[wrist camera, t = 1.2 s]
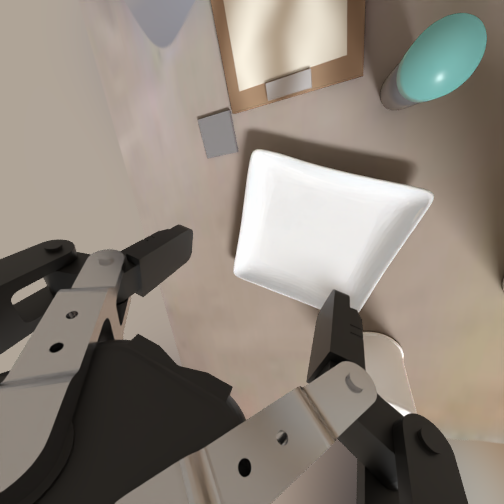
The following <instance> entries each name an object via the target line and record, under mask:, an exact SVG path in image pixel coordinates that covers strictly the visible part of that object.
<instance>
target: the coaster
mask: <svg viewBox="0 0 504 504" xmlns="http://www.w3.org/2000/svg"><path fill="white" fill-rule="evenodd" d="M198 123H199V127H200V131H201V135H202V139H203V143H204V147H205V150H206V154H207V158H211V157H216V156H221V155H226V154H230V153H235V152H238V147H237V142H236V137H235V132H234V127H233V122H232V117H231V112H230V110H228V111H225V112H222V113H218V114H215V115H212V116H209V117H205V118H202V119H199V120H198Z"/></svg>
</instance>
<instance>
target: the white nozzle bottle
mask: <svg viewBox="0 0 504 504" xmlns="http://www.w3.org/2000/svg"><path fill="white" fill-rule="evenodd" d="M363 341H364V355H365V368H366V372H367V373H368V374H369V375H370V377H371V378H372V380H373V382H374V384H375V386H376V390H377V393H378V394H379V395H380V397H381V398H383V399H384V400H385V401H386V402H387V403H389V404H390V405H391V406H392V407H393V408H395V409H396V410H397V411H398V412H400V413H401V414H402V415H403V416H405V415H407V414H409V413H415V414H417V412H416V408H415V404H414V400H413V396H412V392H411V389H410V385H409V381H408V377H407V373H406V369H405V365H404V361H403V357H404V354H403V350H402V348H401V346H400V345H399V344H398V343H397V342H396V341H395V340H393V339H392V338H390V337H388V336H386V335H384V334H380V333H376V332H363Z"/></svg>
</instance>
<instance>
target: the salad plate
mask: <svg viewBox="0 0 504 504" xmlns="http://www.w3.org/2000/svg"><path fill="white" fill-rule="evenodd" d="M433 199H434V195H433V193H432V192H431V191H429V190H426V189H423V188H419V187H415V186H410V185H406V184H401V183H396V182H391V181H386V180H381V179H376V178H371V177H367V176H362V175H358V174H353V173H349V172H344V171H340V170H336V169H332V168H328V167H325V166H321V165H317V164H313V163H310V162H307V161H303V160H300V159H297V158H294V157H290V156H287V155H284V154H281V153H277V152H273V151H269V150H264V149H256V150H254V151H253V152H252V154H251V157H250V162H249V167H248V173H247V180H246V188H245V196H244V204H243V211H242V219H241V227H240V233H239V238H238V245H237V250H236V256H235V261H234V274H235V275H236V276H237V277H239V278H241V279H244V280H246V281H249V282H251V283H254V284H256V285H259V286H261V287H264V288H267V289H269V290H272V291H274V292H277V293H280V294H282V295H285V296H287V297H290V298H292V299H295V300H298V301H300V302H303V303H305V304H308V305H310V306H313V307H315V308H318V309H320V310H321V308H322V306H323V305H324V303H325V301H326V300H327V298H328V296H329V295H330V293H331V291H332V290H333V289H335V290H337V291H340V292H342V293H345V294H347V295H349V296H350V307H351V308H353V309H355V310H357V311H358V313H359V312H360V310H361V309H362V307H363V305H364V304H365V302H366V301H367V299H368V297H369V296H370V294H371V292H372V291H373V289H374V288H375V286H376V284H377V283H378V281H379V280H380V278H381V277H382V275H383V273H384V272H385V270H386V269H387V267H388V266H389V265H390V263H391V262H392V260H393V259H394V257H395V256H396V254H397V253H398V251H399V250H400V248H401V247H402V246H403V244H404V243H405V241H406V240H407V238H408V237H409V236H410V234H411V233H412V231H413V230H414V229H415V227H416V226H417V224H418V223H419V221H420V220H421V218H422V217H423V216H424V214H425V213H426V211H427V210H428V208H429V206H430V205H431V203H432V201H433Z"/></svg>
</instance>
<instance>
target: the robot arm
mask: <svg viewBox="0 0 504 504" xmlns="http://www.w3.org/2000/svg"><path fill="white" fill-rule="evenodd" d="M192 240H193V231H192V230H191V229H189V228H187V227H184V226H182V225H177V226H175V227H173V228H171V229H166V230H162V231H158V232H156V233H154V234H152V235H151V236H149V237H147V238H145V239H144V240H141V241H139V242H137V243H135V244H133V245H131V246H130V247H128V248H126V249H124V250H122V251H117V250H101V251H97V252H95V253H93V254H91V255H90V254H85V253H79V252H76V249H75V246H74V244H73V243H72V242H70V241H67V240H51V241H46V242H43V243H40V244H38V245H35V246H33V247H30V248H28V249H25V250H23V251H20V252H18V253H15V254H13V255H10V256H8V257H5V258H3V259H0V354H2V353H3V352H5V351H6V350H7V349H9V348H10V347H12V346H13V345H15V344H16V343H18V342H19V341H20V340H22V339H23V338H25V337H26V336H28V335H29V334H31V333H32V332H33V334H32V335H31V337H30V339H29V340H28V342H27V344H26V345H25V347H24V349H23V350H22V352H21V354H20V355H19V357H18V359H17V360H16V362H15V364H14V365H13V367H12V369H11V370H10V371H7V372H4V373H1V374H0V504H271V503H272V502H273V501H275V500H276V499H277V498H278V497H279V496H280V495H281V494H282V493H283V492H284V491H285V490H286V489H287V488H288V487H289V486H290V485H291V484H292V483H293V482H294V481H295V480H296V479H297V478H298V477H299V476H300V475H301V474H302V473H304V472H305V470H307V469H308V468H309V467H310V466H311V465H312V464H313V463H314V462H315V461H316V460H317V459H318V458H319V457H320V456H321V455H322V454H323V453H324V452H325V451H326V450H327V449H328V448H329V447H330V446H331V445H332V444H333V443H334V442H335V441H336V439H338V440H339V441H340V442H341V443H342V444H343V445H344V446H345V447H346V448H347V449H348V450H349V451H350V452H351V453H352V454H353V455H354V456H355V457H356V458H357V504H468V501H467V498H466V494H465V491H464V487H463V484H462V480H461V477H460V473H459V470H458V467H457V463H456V459H455V456H454V453H453V450H452V448H451V446H450V444H449V443H448V441H447V440H446V438H445V437H444V435H443V434H442V433H441V432H440V430H439V429H438V428H437V427H436V426H435V425H434V424H433V423H431V422H430V421H429V420H428V419H426V418H424V417H423V416H421V415H418V414H415V413H409V414H407V415H405V416H403V415H402V414H401V413H400V412H398V411H397V410H396V409H395V408H393V407H392V406H391V405H390V404H389V403H387V402H386V401H385V400H384V399H383V398H381V397H380V395H379V394H378V393H377V390H376V386H375V384H374V382H373V380H372V378H371V377H370V375H369V374H368V373H367V372H366V368H365V355H364V341H363V331H362V330H363V328H362V319H361V317H360V315H359V313H358V311H357V310H355V309H353V308H351V307H350V296H349V295H347V294H345V293H342V292H340V291H337V290H335V289H333V290H332V291H331V293H330V295H329V296H328V298H327V300H326V301H325V303H324V305H323V306H322V308H321V310H320V312H319V314H318V317H317V321H316V326H315V332H314V338H313V344H312V350H311V357H310V363H309V369H308V375H307V381H306V382H307V383H309V384H308V385H306V386H305V387H303V388H302V387H301V386H300V387H297V388H295V389H293V390H292V391H290V392H289V393H287V394H286V395H284V396H283V397H281V398H280V399H278V400H277V401H275V402H273V403H272V404H270V405H269V406H267V407H266V408H264V409H263V410H261V411H260V412H258V413H257V414H255V415H254V416H252V417H250V418H249V419H247V420H246V419H245V416H244V414H243V412H242V411H241V409H240V407H239V406H238V404H237V403H236V402H235V400H234V399H233V398H232V397H231V396H230V393H231V390H232V386H230V385H228V384H227V383H225V382H223V381H221V380H219V379H218V378H216V377H214V376H212V375H211V374H209V373H206V372H202V371H198V370H193V369H189V368H185V367H181V366H178V365H177V364H176V363H175V362H174V361H173V360H172V359H171V358H170V357H169V356H168V355H167V353H166V352H165V351H164V350H163V349H162V348H161V347H160V346H159V345H157V344H155V343H154V342H152V341H150V340H148V339H146V338H144V337H143V336H141V335H139V334H138V335H136V337H134V338H133V339H132V340H123V333H124V327H125V323H126V319H127V315H128V310H129V306H130V302H131V295H133V294H134V293H136V294H138V295H140V296H142V297H144V296H145V295H146V294H148V293H149V292H150V291H151V290H153V289H154V288H155V287H156V286H158V285H159V284H160V283H161V282H163V281H164V280H165V279H166V278H167V277H169V276H170V275H171V274H172V273H174V272H175V271H176V270H177V269H179V268H180V267H181V266H182V265H184V264H185V263H186V262H187V261H188V260H189V258H190V256H191V253H192ZM41 278H44V280H45V282H46V284H47V286H46V287H45V288H43V289H41V290H39V291H38V292H36V293H34V294H32V295H30V296H29V297H27V298H25V299H23V300H21V301H20V302H18V303H16V304H14V305H12V303H11V298H12V296H13V295H14V293H16V292H17V291H18V290H20V289H22V288H24V287H26V286H28V285H29V284H31V283H33V282H35V281H37V280H39V279H41ZM502 286H503V291H504V279H503V283H502Z"/></svg>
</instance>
